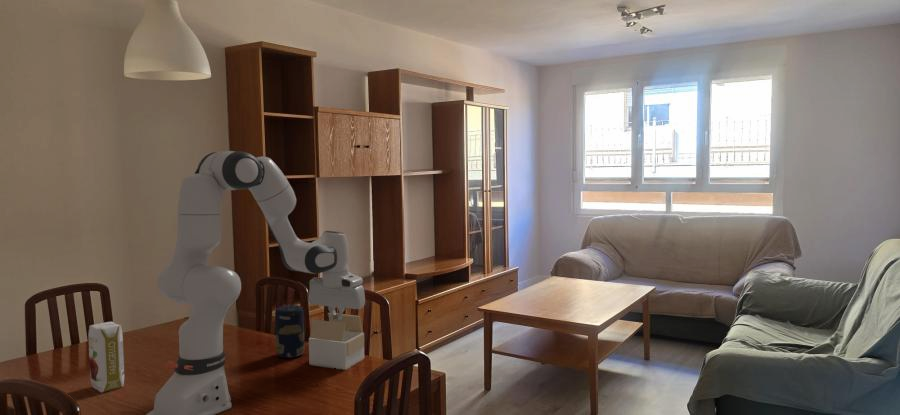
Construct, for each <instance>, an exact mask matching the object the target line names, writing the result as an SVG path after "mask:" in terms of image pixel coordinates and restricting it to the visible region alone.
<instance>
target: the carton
mask: <svg viewBox="0 0 900 415" xmlns="http://www.w3.org/2000/svg"><path fill="white" fill-rule="evenodd" d="M363 360H365V332H359V331H350V330H345V332H344V338H343V342H339V341H331V340H323V339H315V338H310V337H308V363H309V364H308V366H315V367H323V368H330V369H334V368H336V369H335V370H341V369H342V370H341V371H347V370H349V369H350V368H351V366H352V367H353V366H355V365H356V364H358V363H359V362H361V361H363Z"/></svg>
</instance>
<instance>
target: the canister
mask: <svg viewBox="0 0 900 415" xmlns="http://www.w3.org/2000/svg"><path fill="white" fill-rule="evenodd" d="M274 316H275V347H276V350H275V351H276V355H277V356H278V357H280V358H285V359H288V358H289V359H290V358H297V357H299V356H302V355H303V354H304V353H305V350H306V348H305V334H306V332H305V322H304V321H305V319H304V318H305V316H304V308H303V306H301V305H296V304H287V305H282V306H279V307H277V308H276V309H275V313H274Z"/></svg>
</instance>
